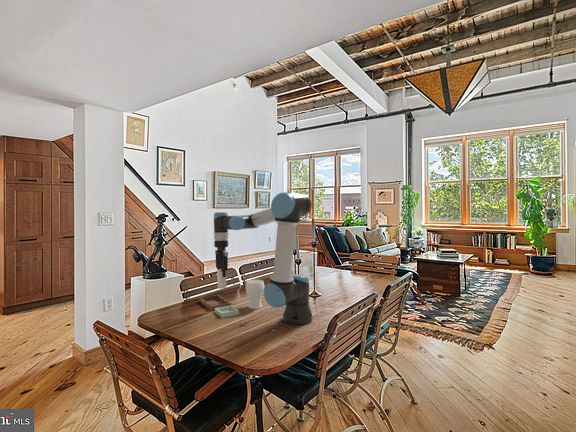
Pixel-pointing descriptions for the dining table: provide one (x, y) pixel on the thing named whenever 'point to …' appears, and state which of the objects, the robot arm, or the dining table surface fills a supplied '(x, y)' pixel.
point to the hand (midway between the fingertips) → (221, 281)
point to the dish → (227, 311)
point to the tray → (214, 302)
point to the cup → (255, 293)
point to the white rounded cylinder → (220, 285)
